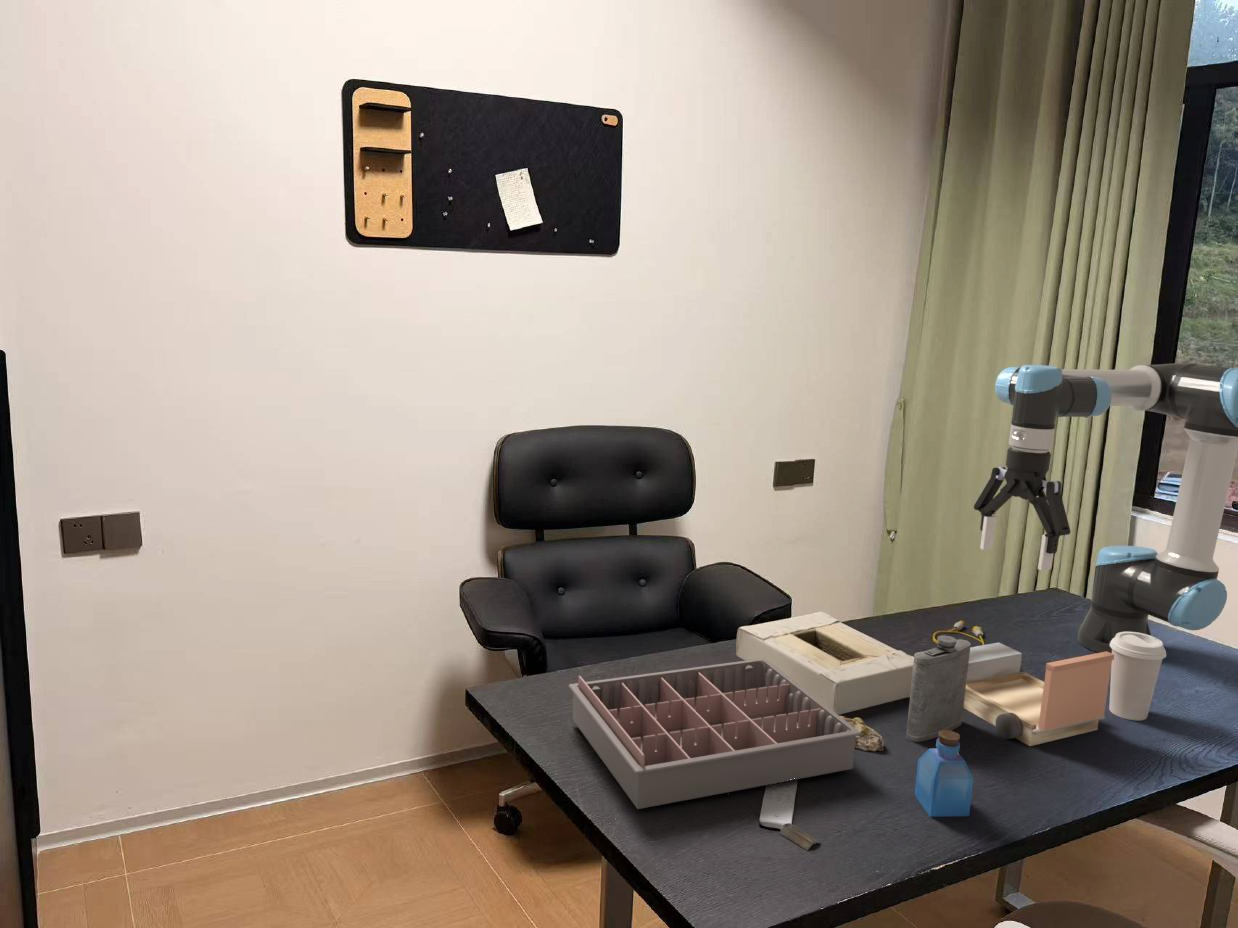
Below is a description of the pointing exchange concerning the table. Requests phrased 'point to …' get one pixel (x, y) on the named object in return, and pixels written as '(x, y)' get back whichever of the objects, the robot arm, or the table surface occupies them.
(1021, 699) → the truck bed
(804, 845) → the block
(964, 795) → the perfume bottle
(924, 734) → the flask
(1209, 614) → the robot arm
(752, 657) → the box
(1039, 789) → the table surface
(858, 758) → the table surface
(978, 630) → the extension cord
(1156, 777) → the table surface
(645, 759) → the organizer tray
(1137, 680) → the coffee cup
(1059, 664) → the tailgate
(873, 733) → the mineral rock
